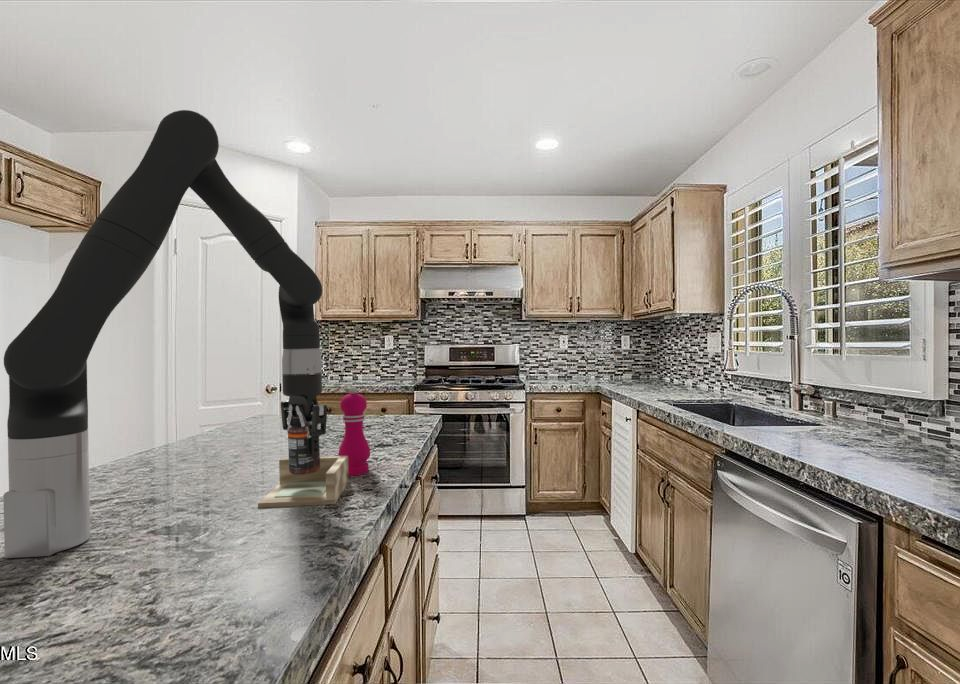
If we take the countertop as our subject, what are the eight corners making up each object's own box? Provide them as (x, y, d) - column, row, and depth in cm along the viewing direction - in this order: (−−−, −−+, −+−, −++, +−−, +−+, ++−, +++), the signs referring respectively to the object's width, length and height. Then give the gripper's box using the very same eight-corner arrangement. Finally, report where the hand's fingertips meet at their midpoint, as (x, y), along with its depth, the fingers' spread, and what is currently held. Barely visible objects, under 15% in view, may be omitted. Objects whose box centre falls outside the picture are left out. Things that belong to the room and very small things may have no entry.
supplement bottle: (313, 465, 102) (312, 412, 102) (324, 471, 97) (323, 415, 97) (284, 471, 98) (283, 415, 98) (294, 477, 93) (293, 419, 93)
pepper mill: (336, 470, 114) (334, 386, 114) (367, 466, 117) (365, 384, 117) (341, 478, 108) (339, 389, 108) (373, 473, 111) (372, 387, 111)
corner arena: (334, 503, 91) (334, 473, 91) (258, 507, 89) (257, 476, 89) (348, 482, 105) (348, 455, 105) (282, 485, 103) (281, 458, 103)
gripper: (266, 371, 99) (268, 452, 99) (304, 373, 90) (306, 463, 90) (300, 369, 105) (302, 446, 105) (338, 371, 96) (340, 455, 96)
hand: (304, 453), depth 97 cm, fingers closed on supplement bottle, 6 cm apart
